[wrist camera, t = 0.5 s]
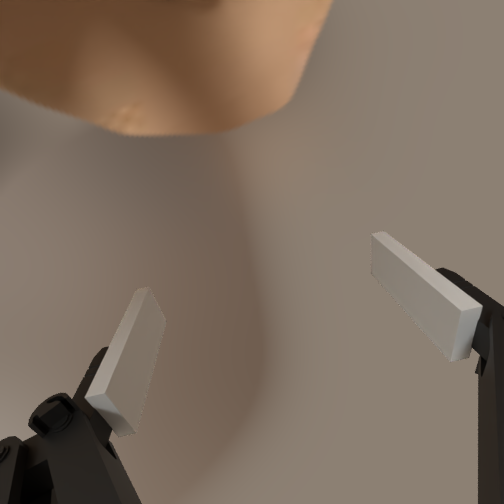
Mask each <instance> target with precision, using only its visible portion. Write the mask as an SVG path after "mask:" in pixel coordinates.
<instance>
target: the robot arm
mask: <svg viewBox="0 0 504 504" xmlns="http://www.w3.org/2000/svg"><path fill="white" fill-rule="evenodd" d="M371 274H372V275H373V276H374V277H375V279H376V280H377V281H378V282H379V283H380V284H381V285H382V286H383V287H384V289H385V290H386V291H387V292H388V293H389V294H390V295H391V296H392V297H393V299H394V300H395V301H396V302H397V303H398V304H399V305H400V306H401V308H402V309H403V310H404V311H405V312H406V313H407V314H408V315H409V316H410V318H411V319H412V320H413V321H414V322H415V323H416V324H417V325H418V327H419V328H420V329H421V330H422V331H423V332H424V333H425V334H426V335H427V336H428V338H429V339H430V340H431V341H432V342H433V343H434V344H435V345H436V347H437V348H438V349H439V350H440V351H441V352H442V353H443V354H444V356H446V358H447V359H448V360H449V361H450V362H453V361H457V360H462V359H466V358H469V356H470V353H471V349H472V348H473V349H474V350H475V351H476V352H477V353H478V354H479V355H480V357H479V361H478V364H477V367H476V371H475V373H476V374H478V379H479V380H478V504H504V306H502V305H501V304H499V303H498V302H496V301H495V300H493V299H492V298H491V297H489V296H488V295H486V294H485V293H484V292H482V291H481V290H479V289H478V288H477V287H475V286H473V285H472V284H471V283H469V282H468V281H465V279H464V278H462V277H461V276H460V275H458V274H457V273H455V272H453V271H450V270H447V269H445V268H439V269H433V268H432V267H431V266H429V265H428V264H427V263H425V262H424V261H423V260H421V259H420V258H419V257H418V256H416V255H415V254H414V253H412V252H411V251H410V250H408V249H407V248H406V247H404V246H403V245H401V244H400V243H399V242H398V241H397V240H395V239H394V238H393V237H391V236H390V235H389V234H387V233H386V232H385V231H382V232H377V233H373V234H371ZM165 325H166V319H165V317H164V315H163V313H162V312H161V309H160V308H159V305H158V303H157V301H156V299H155V298H154V295H153V293H152V292H151V290H150V287H146V288H142V289H138V290H136V292H135V294H134V296H133V298H132V300H131V302H130V304H129V306H128V308H127V310H126V313H125V315H124V317H123V319H122V321H121V323H120V325H119V327H118V329H117V331H116V333H115V336H114V337H113V340H112V342H111V344H110V346H109V347H104V348H102V349H101V350H100V351H99V352H98V353H97V355H96V356H95V357H94V358H93V360H92V362H91V364H90V366H89V369H88V370H87V372H86V374H85V377H84V378H83V380H82V381H81V384H80V385H79V387H78V389H77V391H76V393H75V395H74V397H73V399H71V398H70V397H69V396H68V395H67V394H66V393H58V394H56V395H53V396H51V397H49V398H48V399H46V400H45V401H44V402H43V403H41V404H40V405H39V406H38V407H37V408H36V410H35V411H34V412H33V413H32V415H31V417H30V419H29V423H28V426H29V427H30V428H31V429H32V430H34V431H35V432H36V433H37V435H35V436H33V437H31V438H29V439H27V440H25V441H21V440H20V439H19V438H17V437H16V436H12V437H8V438H5V439H3V440H1V441H0V504H142V503H141V501H140V499H139V497H138V495H137V493H136V491H135V489H134V487H133V485H132V483H131V481H130V479H129V477H128V475H127V473H126V471H125V469H124V467H123V465H122V463H121V461H120V459H119V457H118V455H117V453H116V451H115V449H114V447H113V445H112V443H111V442H110V441H109V437H110V434H111V432H112V430H113V431H114V432H115V434H116V435H117V436H118V437H122V436H126V435H130V434H135V433H137V429H138V425H139V422H140V418H141V415H142V410H143V407H144V403H145V400H146V396H147V392H148V388H149V385H150V381H151V377H152V373H153V369H154V366H155V362H156V359H157V355H158V351H159V347H160V344H161V340H162V336H163V332H164V329H165Z"/></svg>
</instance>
